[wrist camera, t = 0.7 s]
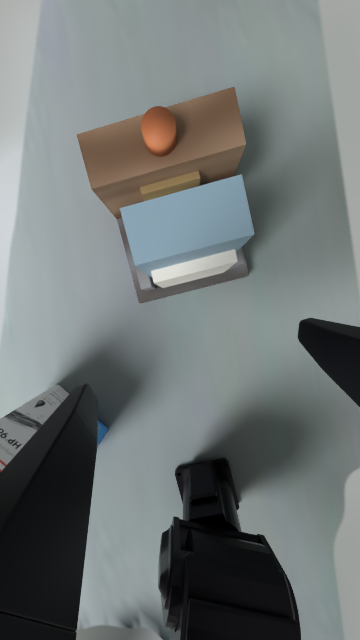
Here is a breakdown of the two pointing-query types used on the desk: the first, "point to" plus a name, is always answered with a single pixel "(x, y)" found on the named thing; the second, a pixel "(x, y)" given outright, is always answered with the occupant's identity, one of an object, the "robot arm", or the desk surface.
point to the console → (166, 166)
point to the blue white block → (189, 231)
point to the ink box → (31, 422)
